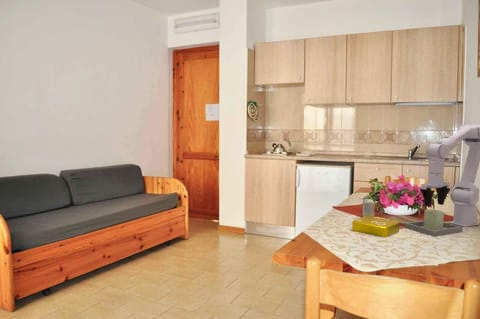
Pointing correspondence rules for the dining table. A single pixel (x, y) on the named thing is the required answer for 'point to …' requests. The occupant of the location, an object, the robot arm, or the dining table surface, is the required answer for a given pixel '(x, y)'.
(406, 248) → the dining table surface
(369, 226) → the element tile
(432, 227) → the parts box
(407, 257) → the dining table surface
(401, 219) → the walnut board
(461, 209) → the robot arm
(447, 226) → the grey flat square frame
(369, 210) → the medicine box
